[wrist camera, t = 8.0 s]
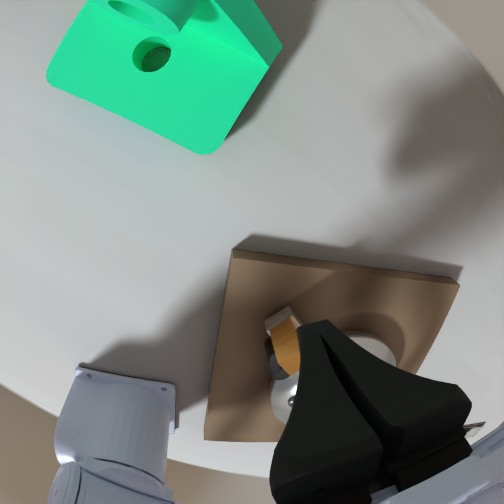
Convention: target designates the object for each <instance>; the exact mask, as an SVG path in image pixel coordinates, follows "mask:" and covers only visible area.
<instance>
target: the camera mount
mask: <svg viewBox="0 0 504 504" xmlns="http://www.w3.org/2000/svg"><path fill="white" fill-rule="evenodd" d="M159 47H165V48H168V49H170V50H171V56H170V59H169V61H168V62H167V63H166V65H165V66H163V67H162V68H161V69H159V70H157V71H154V72H144V71H143V68H142V62H143V59H144V57H145V56H146V54H147V53H148V52H150V51H151V50H153V49H155V48H159ZM282 48H283V45H282V44H281V42H280V40H279V39H278V37H277V36H276V34H275V32H274V31H273V29H272V28H271V26H270V24H269V23H268V21H267V20H266V18H265V17H264V15H263V14H262V12H261V11H260V9H259V8H258V6H257V5H256V3H255V2H254V0H88V1H87V2H86V3H85V5H84V6H83V8H82V9H81V11H80V12H79V14H78V15H77V17H76V18H75V20H74V22H73V23H72V25H71V26H70V28H69V30H68V31H67V33H66V35H65V36H64V38H63V40H62V42H61V43H60V45H59V47H58V49H57V51H56V52H55V54H54V56H53V58H52V60H51V62H50V64H49V66H48V68H47V73H46V77H47V81H48V83H49V84H50V85H51V86H53V87H56V88H58V89H61V90H63V91H65V92H68V93H70V94H73V95H75V96H77V97H79V98H82V99H84V100H86V101H89V102H91V103H93V104H95V105H98V106H100V107H102V108H104V109H106V110H109V111H111V112H113V113H115V114H117V115H119V116H122V117H124V118H126V119H128V120H130V121H132V122H134V123H136V124H138V125H141V126H143V127H145V128H147V129H149V130H151V131H153V132H155V133H157V134H159V135H161V136H163V137H165V138H167V139H169V140H171V141H173V142H175V143H177V144H179V145H181V146H183V147H185V148H187V149H189V150H191V151H192V152H194V153H197V154H209V153H212V152H214V151H216V150H217V149H218V148H219V147H220V146H221V144H222V142H223V141H224V139H225V137H226V136H227V134H228V132H229V131H230V129H231V127H232V126H233V124H234V122H235V121H236V119H237V117H238V116H239V114H240V112H241V111H242V109H243V108H244V106H245V104H246V103H247V101H248V100H249V98H250V96H251V95H252V93H253V92H254V90H255V89H256V87H257V86H258V84H259V82H260V81H261V79H262V78H263V76H264V75H265V73H266V72H267V70H268V69H269V67H270V66H271V64H272V63H273V61H274V60H275V58H276V57H277V55H278V54H279V53H280V51H281V50H282Z"/></svg>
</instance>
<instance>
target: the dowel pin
mask: <svg viewBox="0 0 504 504" xmlns="http://www.w3.org/2000/svg"><path fill="white" fill-rule="evenodd" d="M264 347H265V351H266V355H267V360H268V364H269V369H270V373H271V377H272V378H273V379H275V380H284V379H287V378H288V377H289V376H290V375H289V374H288V373H287V372H286V371H285V370H284V369H283V368H282V367H281V366H280V365H279V364H278V362H277V358H276V355H275V351H274V347H273V343H272V339H271V337H269V338H268V339H267V340H266V341H265V343H264Z"/></svg>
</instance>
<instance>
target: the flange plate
mask: <svg viewBox="0 0 504 504" xmlns="http://www.w3.org/2000/svg"><path fill="white" fill-rule="evenodd" d="M264 324H265V328H266V332H267V333H268V334H269V335H270V336H271V339H272V343H273V347H274V351H275V355H276V358H277V362H278V364H279V365H280V366H281V367H282V368H283V369H284V370H285V371H286V372H287V373H288V374H289V375H290V376H289V377H288V378H287V379H284V380H275V379H273V378H272V380H271V383H270V387H269V396H270V401H271V406H272V410H273V412H274V414H275V416H276V417H277V418H278V419H279V420H280V421H281V422H283V423H284V424H286V423H287V421H288V418H289V415H290V412H291V409H292V406H293V402H294V398H295V394H296V390H297V384H298V378H299V369H300V351H299V345H298V338H297V332H296V329H297V328H298V326H302V325H303V323H302V322H301V321H300V320H299V318H298V317H297V316H296V314H295V313H294V312H293V310H292V309H291V308H290V307H289V306H287V307H286V308H284V309H283V310H281V311H279V312H278V313H276V314H275V315H273V316H272V317H270V318H268V319H267V320H265V321H264ZM343 333H344V334H345V335H346V336H348V337H349V338H350V339H352V340H353V341H354V342H356V343H357V344H358V345H360V346H361V347H363V348H364V349H365V350H367V351H368V352H370V353H372V354H373V355H375V356H376V357H378V358H380V359H381V360H383V361H385V362H387V363H389V364H391V365H393V366H395V367H396V360H395V357H394V355H393V353H392V352H391V350H390V349H389V348H388V346H387V345H386V343H385V342H384V341H383V340H382V339H381V338H379V337H378V336H376V335H374V334H371V333H368V332H364V331H344V332H343Z"/></svg>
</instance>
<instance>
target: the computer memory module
mask: <svg viewBox="0 0 504 504" xmlns="http://www.w3.org/2000/svg"><path fill="white" fill-rule="evenodd" d="M484 424H485V422H483V423H477V424H470V425H463V428H464V429H465V431H466V436H465V438H468V437H473V436H474V435H475V434H477V433H478V432H479V431H480V430H481V429H482V427H483V426H482V425H484Z"/></svg>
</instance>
